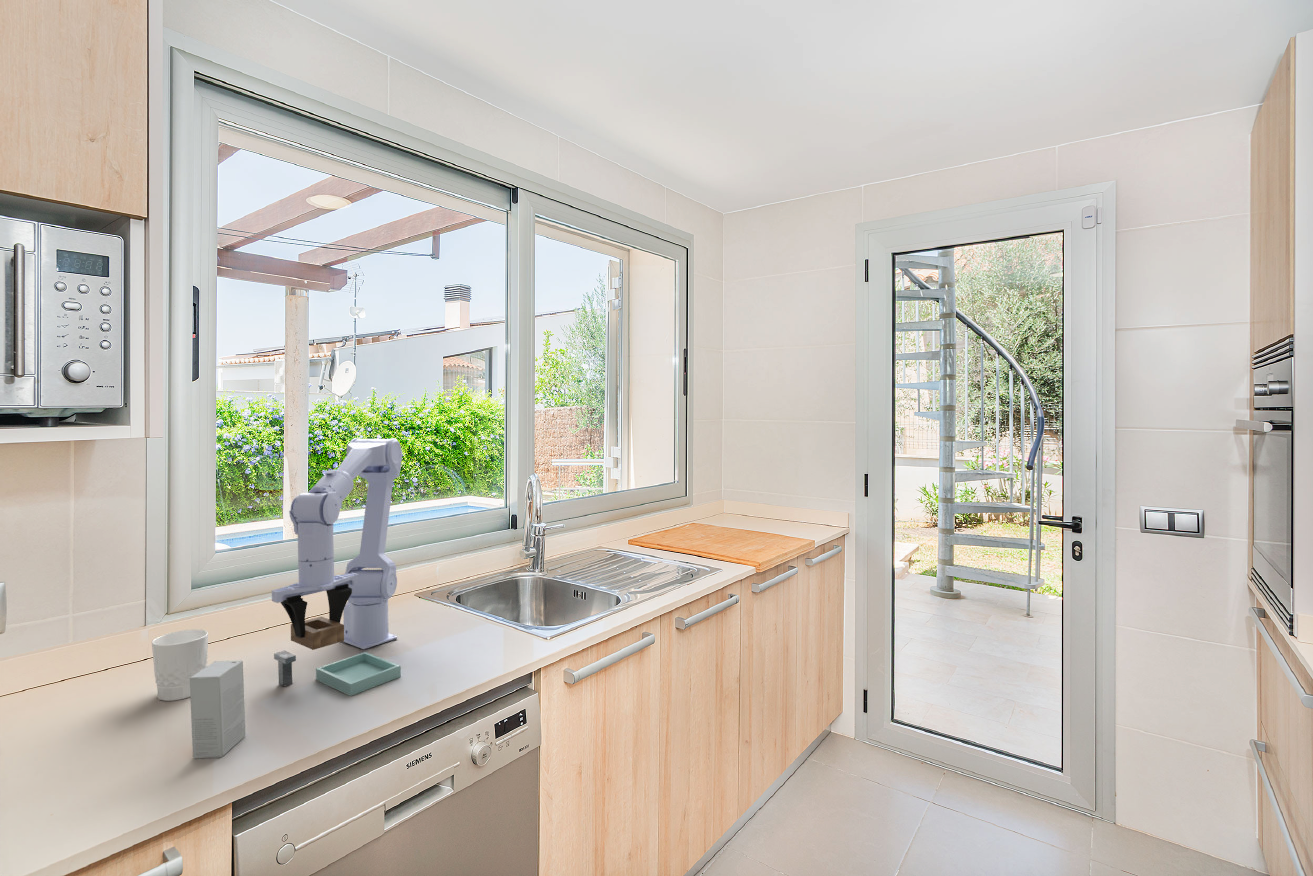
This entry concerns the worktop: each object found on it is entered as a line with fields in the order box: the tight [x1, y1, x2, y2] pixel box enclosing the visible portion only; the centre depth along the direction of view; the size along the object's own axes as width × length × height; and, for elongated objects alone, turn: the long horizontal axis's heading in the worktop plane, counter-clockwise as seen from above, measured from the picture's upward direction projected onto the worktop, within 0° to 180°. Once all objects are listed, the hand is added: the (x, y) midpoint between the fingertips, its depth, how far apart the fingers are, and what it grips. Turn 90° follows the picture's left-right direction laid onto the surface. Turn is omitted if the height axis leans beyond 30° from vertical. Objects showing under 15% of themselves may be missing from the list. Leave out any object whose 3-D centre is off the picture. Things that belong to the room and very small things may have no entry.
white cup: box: [151, 628, 209, 702], centre depth 109 cm, size 8×8×10 cm
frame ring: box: [290, 616, 344, 651], centre depth 114 cm, size 6×8×3 cm
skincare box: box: [189, 660, 247, 759], centre depth 91 cm, size 6×4×12 cm
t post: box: [273, 650, 297, 688], centre depth 113 cm, size 4×2×6 cm, turn 56°
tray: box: [315, 651, 402, 697], centre depth 116 cm, size 12×10×2 cm
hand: (317, 631), depth 114 cm, fingers closed on frame ring, 6 cm apart
